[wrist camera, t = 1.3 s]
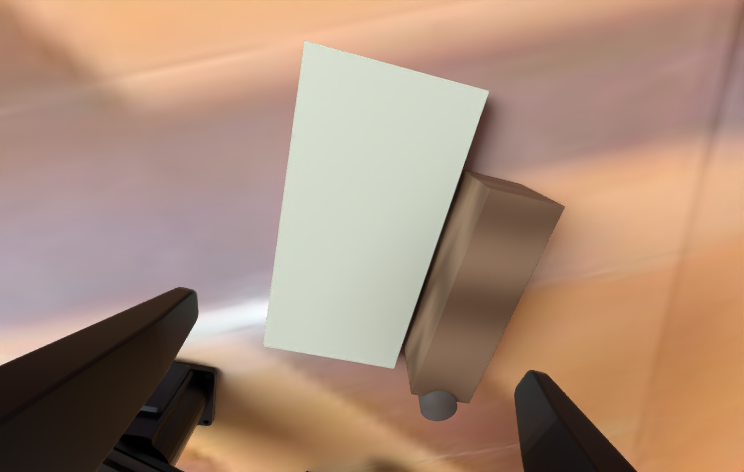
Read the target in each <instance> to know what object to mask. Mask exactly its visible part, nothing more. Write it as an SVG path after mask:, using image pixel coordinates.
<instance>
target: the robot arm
mask: <svg viewBox="0 0 744 472" xmlns="http://www.w3.org/2000/svg"><path fill="white" fill-rule="evenodd" d="M197 318H198V300H197V293H196V291H195V290H192V289H188V288H184V287H178V288H175V289H173V290H170V291H168V292H166V293H164V294H161V295H159V296H157V297H155V298H152V299H150V300H148V301H146V302H143V303H141V304H139V305H136V306H134V307H132V308H130V309H127V310H125V311H123V312H121V313H118V314H116V315H114V316H112V317H109V318H107V319H105V320H102V321H100V322H98V323H96V324H93V325H91V326H89V327H87V328H84V329H82V330H80V331H78V332H75V333H73V334H71V335H69V336H66V337H64V338H62V339H59V340H57V341H55V342H53V343H50V344H48V345H46V346H44V347H41V348H39V349H37V350H35V351H32V352H30V353H28V354H25V355H23V356H21V357H19V358H16V359H14V360H12V361H10V362H7V363H5V364H3V365H1V366H0V472H184V471H182V470H180V469H178V468H176V467H175V465H176V463H177V461H178V459H179V457H180V455H181V454H182V452H183V450H184V448H185V446H186V444H187V442H188V441H189V439H190V437H191V435H192V433H193V431H194V429H195V427H196V426H197V425H204V426H209V425H211V424H212V422H213V420H214V410H215V396H216V382H217V371H216V370H215V369H213V368H209V367H203V366H197V365H191V364H185V363H179V362H173V361H174V359H175V357H176V356H177V354H178V352H179V350H180V349H181V347H182V345H183V343H184V342H185V340H186V338H187V336H188V335H189V333H190V331H191V330H192V328H193V326H194V324H195V323H196V321H197ZM210 374H211V375H210ZM514 398H515V406H516V415H517V424H518V433H519V442H520V450H521V457H522V462H523V467H524V472H637V471H636V470H635V469H634V468H633V467H632V466H631V464H630V463H629V462H628V461H627V460H626V459H625V458H624V457H623V456H622V455H621V454H620V453H619V451H618V450H617V449H616V448H615V447H614V446H613V445H612V444H611V443H610V442H609V441H608V439H607V438H606V437H605V436H604V435H603V434H602V433H601V432H600V431H599V430H598V429H597V428H596V426H595V425H594V424H593V423H592V422H591V421H590V420H589V419H588V418H587V417H586V416H585V415H584V413H583V412H582V411H581V410H580V409H579V408H578V407H577V406H576V405H575V404H574V403H573V402H572V400H571V399H570V398H569V397H568V396H567V395H566V394H565V393H564V392H563V391H562V390H561V389H560V387H559V386H558V385H557V384H556V383H555V382H554V381H553V380H552V379H551V378H550V377H549V376H548V375H547V374H546V373H543V372H539V371H535V370H530V371H528V372H527V373H526V374H525V376H524V377H523V378H522V380H521V381H520V383H519V384H518V385H517V387H516V389H515V394H514Z"/></svg>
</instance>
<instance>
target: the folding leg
mask: <svg viewBox="0 0 744 472" xmlns="http://www.w3.org/2000/svg"><path fill="white" fill-rule="evenodd" d="M564 207H565V206H563V205H561V204H559V203H557V202H555V201H553V200H551V199H549V198H547V197H545V196H543V195H541V194H539V193H537V192H535V191H533V190H531V189H529V188H527V187H525V186H523V185H521V184H518V183H514V182H510V181H506V180H502V179H498V178H493V177H489V176H485V175H481V174H477V173H473V172H469V171H465V170H462V172H461V174H460V177H459V180H458V183H457V186H456V189H455V192H454V195H453V198H452V201H451V204H450V206H449V209H448V212H447V215H446V218H445V221H444V224H443V227H442V230H441V233H440V236H439V238H438V241H437V244H436V247H435V250H434V253H433V256H432V259H431V262H430V265H429V268H428V270H427V273H426V276H425V279H424V282H423V285H422V288H421V291H420V294H419V297H418V300H417V302H416V305H415V308H414V311H413V314H412V317H411V320H410V323H409V326H408V329H407V332H406V334H405V337H404V340H403V343H404V350H405V357H406V363H407V370H408V376H409V383H410V389H411V394H414V395H418V398H419V403H420V409H421V413H422V415H423V416H424V417H425V418H427V419H429V420H432V421H442V420H446V419H448V418H450V417H452V416H453V415H454V414H455V412H456V410H457V403H456V402H462V403H469V402H470V400H471V398H472V396H473V394H474V392H475V390H476V388H477V386H478V384H479V382H480V380H481V378H482V376H483V374H484V372H485V370H486V368H487V365H488V363H489V361H490V359H491V357H492V355H493V353H494V351H495V349H496V347H497V345H498V343H499V341H500V339H501V337H502V335H503V333H504V331H505V329H506V326H507V324H508V322H509V320H510V318H511V316H512V314H513V312H514V310H515V308H516V306H517V304H518V302H519V300H520V298H521V296H522V294H523V292H524V290H525V287H526V285H527V283H528V281H529V279H530V277H531V275H532V273H533V271H534V269H535V267H536V265H537V263H538V261H539V259H540V257H541V255H542V253H543V251H544V248H545V246H546V244H547V242H548V240H549V238H550V236H551V234H552V232H553V230H554V228H555V226H556V224H557V222H558V220H559V218H560V216H561V214H562V212H563V209H564Z"/></svg>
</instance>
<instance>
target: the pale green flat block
mask: <svg viewBox="0 0 744 472" xmlns="http://www.w3.org/2000/svg"><path fill="white" fill-rule="evenodd" d="M488 93H489V91H487V90H483V89H479V88H476V87H472V86H468V85H465V84H461V83H457V82H454V81H450V80H446V79H443V78H439V77H435V76H432V75H428V74H424V73H421V72H417V71H413V70H410V69H406V68H402V67H399V66H395V65H391V64H388V63H384V62H380V61H377V60H373V59H369V58H366V57H362V56H358V55H355V54H351V53H347V52H344V51H340V50H336V49H333V48H329V47H326V46H322V45H318V44H315V43H311V42H307V41H304V49H303V56H302V63H301V71H300V78H299V86H298V93H297V100H296V108H295V115H294V122H293V130H292V137H291V144H290V152H289V159H288V166H287V174H286V181H285V188H284V196H283V203H282V210H281V218H280V225H279V233H278V240H277V247H276V255H275V262H274V269H273V277H272V284H271V291H270V299H269V306H268V313H267V321H266V328H265V335H264V343H263V346H266V347H272V348H278V349H283V350H289V351H295V352H301V353H306V354H312V355H318V356H324V357H329V358H335V359H341V360H347V361H353V362H358V363H364V364H370V365H376V366H381V367H387V368H393V369H394V366H395V364H396V361H397V358H398V355H399V352H400V349H401V346H402V343H403V340H404V337H405V334H406V332H407V329H408V326H409V323H410V320H411V317H412V314H413V311H414V308H415V305H416V302H417V300H418V297H419V294H420V291H421V288H422V285H423V282H424V279H425V276H426V273H427V270H428V268H429V265H430V262H431V259H432V256H433V253H434V250H435V247H436V244H437V241H438V238H439V236H440V233H441V230H442V227H443V224H444V221H445V218H446V215H447V212H448V209H449V206H450V204H451V201H452V198H453V195H454V192H455V189H456V186H457V183H458V180H459V177H460V174H461V172H462V169H463V166H464V163H465V160H466V157H467V154H468V151H469V148H470V145H471V142H472V140H473V137H474V134H475V131H476V128H477V125H478V122H479V119H480V116H481V113H482V110H483V108H484V105H485V102H486V99H487V96H488Z"/></svg>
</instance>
